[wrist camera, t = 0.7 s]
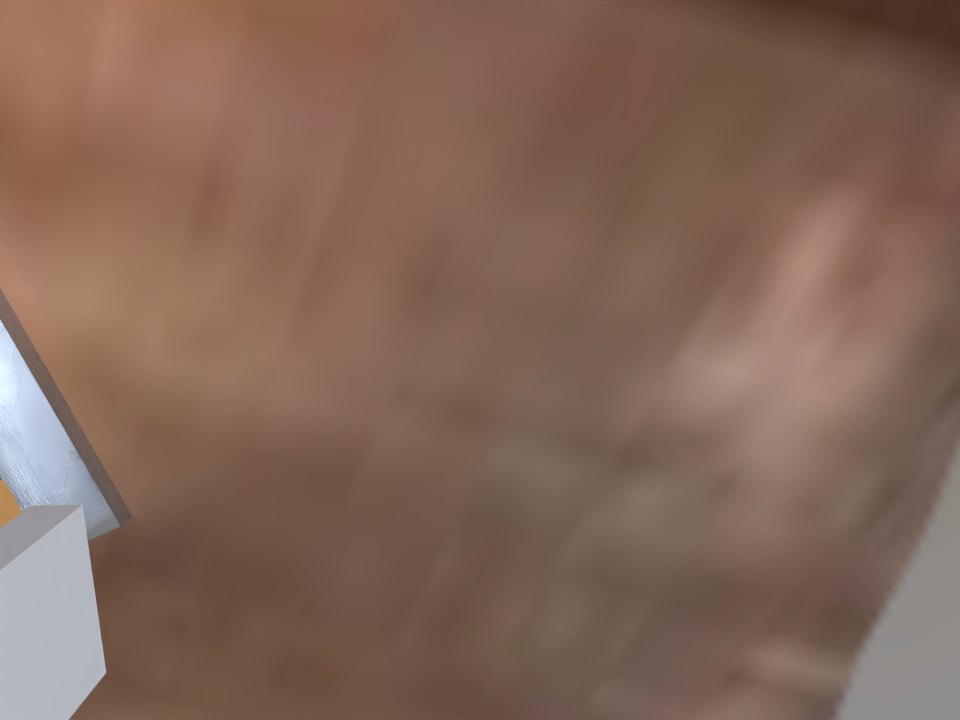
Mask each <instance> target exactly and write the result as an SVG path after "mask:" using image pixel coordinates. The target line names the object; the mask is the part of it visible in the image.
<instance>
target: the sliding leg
mask: <svg viewBox="0 0 960 720" xmlns="http://www.w3.org/2000/svg"><path fill="white" fill-rule="evenodd" d="M21 513H22V510H21V509H20V507H19V505H18V504H17V502H16V501H15V499H14V497H13V496H12V494H11V492H10V491H9V489H8V487H7V486H6V484H5V482H4V481H3V480H1V481H0V528H1V527H3V526H4V525H5V524H7V523H8V522H10V521H11V520H12V519H14V518H15V517H17V516H18V515H19V514H21Z"/></svg>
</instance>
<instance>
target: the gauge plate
mask: <svg viewBox="0 0 960 720" xmlns="http://www.w3.org/2000/svg"><path fill="white" fill-rule="evenodd" d="M1 480H3V481H4V482H5V484H6V486H7V487H8V489H9V491H10V492H11V494H12V496H13V497H14V499H15V501H16V502H17V504H18V505H19V507H20V509H21V510H22V512H23V511H25V510H26V509H28V508H29V507H30V506H38V505H82V506H83V513H84V520H85V527H86V534H87V541H89V540H91V539H93V538H95V537H97V536H100V535H102V534H104V533H106V532H108V531H111V530H113V529H115V528H117V527H119V526H121V525H122V524H123V523H124V522H126V521H127V520H128V519H129V518H130V517H131V515H130V513H129V511H128V509H127V508H126V506H125V504H124V503H123V501H122V499H121V497H120V496H119V494H118V492H117V490H116V489H115V487H114V485H113V484H112V482H111V480H110V478H109V477H108V475H107V473H106V471H105V470H104V468H103V466H102V464H101V463H100V461H99V459H98V458H97V456H96V454H95V452H94V451H93V449H92V447H91V445H90V444H89V442H88V440H87V439H86V437H85V435H84V433H83V432H82V430H81V428H80V426H79V425H78V423H77V421H76V419H75V418H74V416H73V414H72V413H71V411H70V409H69V407H68V406H67V404H66V402H65V400H64V399H63V397H62V395H61V394H60V392H59V390H58V388H57V387H56V385H55V383H54V381H53V380H52V378H51V376H50V375H49V373H48V371H47V369H46V368H45V366H44V364H43V362H42V361H41V359H40V357H39V355H38V354H37V352H36V350H35V349H34V347H33V345H32V343H31V342H30V340H29V338H28V336H27V335H26V333H25V331H24V330H23V328H22V326H21V324H20V323H19V321H18V319H17V317H16V316H15V314H14V312H13V310H12V309H11V307H10V305H9V304H8V302H7V300H6V298H5V297H4V295H3V293H2V291H1V290H0V481H1Z"/></svg>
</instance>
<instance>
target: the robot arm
mask: <svg viewBox="0 0 960 720" xmlns="http://www.w3.org/2000/svg"><path fill="white" fill-rule="evenodd" d="M105 674H106V668H105V661H104V654H103V647H102V640H101V633H100V626H99V619H98V612H97V605H96V597H95V590H94V583H93V576H92V569H91V562H90V555H89V548H88V541H87V534H86V527H85V520H84V513H83V506H82V505H38V506H30V507H29V508H28V509H26V510H25V511H23V512H22V513H21V514H19V515H18V516H17V517H15V518H14V519H12V520H11V521H10V522H8V523H7V524H5V525H4V526H3V527H1V528H0V720H69V718H70V717H71V716H72V715H73V713H74V712H75V711H76V710H77V708H78V707H79V706H80V705H81V703H82V702H83V701H84V700H85V698H86V697H87V696H88V695H89V694H90V692H91V691H92V690H93V689H94V687H95V686H96V685H97V684H98V682H99V681H100V680H101V679H102V677H103V676H104V675H105Z"/></svg>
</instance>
